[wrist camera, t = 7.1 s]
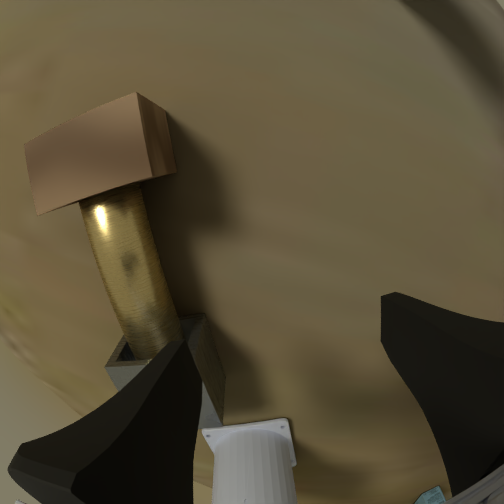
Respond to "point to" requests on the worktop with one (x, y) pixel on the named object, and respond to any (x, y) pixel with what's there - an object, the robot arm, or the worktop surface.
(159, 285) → the tube
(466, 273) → the worktop surface
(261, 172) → the worktop surface
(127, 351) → the sleeve
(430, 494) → the gum box
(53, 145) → the brown rectangular block
